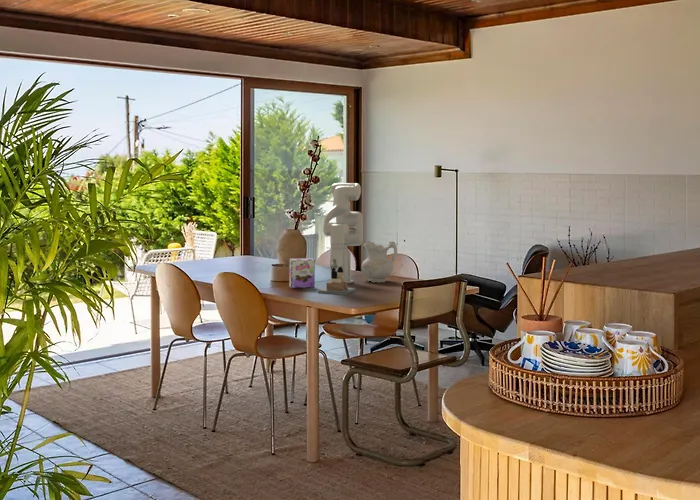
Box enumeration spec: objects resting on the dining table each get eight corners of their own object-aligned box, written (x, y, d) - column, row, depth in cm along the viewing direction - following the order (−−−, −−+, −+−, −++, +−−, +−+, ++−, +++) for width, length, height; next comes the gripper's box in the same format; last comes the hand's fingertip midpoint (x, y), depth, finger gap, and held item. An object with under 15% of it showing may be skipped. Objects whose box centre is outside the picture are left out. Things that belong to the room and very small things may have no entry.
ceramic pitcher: (397, 281, 518) (398, 241, 517) (396, 283, 498) (396, 241, 498) (362, 281, 520) (363, 240, 519) (360, 282, 500) (360, 240, 500)
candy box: (291, 288, 475) (291, 259, 474) (288, 287, 481) (289, 258, 479) (314, 287, 479) (315, 259, 477) (312, 286, 484) (312, 258, 483)
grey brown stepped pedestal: (328, 289, 472) (328, 279, 472) (355, 290, 467) (355, 281, 467) (318, 293, 457) (318, 283, 457) (346, 294, 452) (346, 284, 452)
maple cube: (334, 281, 465) (334, 272, 465) (343, 281, 463) (343, 272, 463) (331, 282, 460) (331, 273, 460) (339, 282, 459) (339, 273, 458)
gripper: (336, 245, 469) (336, 275, 471) (325, 247, 453) (325, 279, 455) (349, 245, 467) (348, 276, 469) (338, 248, 451) (338, 279, 452)
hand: (337, 277), depth 462 cm, fingers open, 9 cm apart
